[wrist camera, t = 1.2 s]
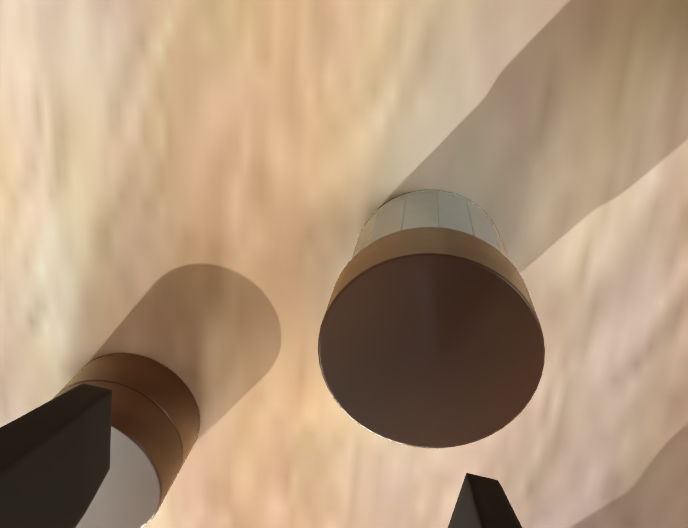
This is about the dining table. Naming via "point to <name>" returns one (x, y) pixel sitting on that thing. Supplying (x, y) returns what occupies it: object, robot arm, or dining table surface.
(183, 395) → the base chip
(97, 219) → the dining table surface
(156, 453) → the middle chip
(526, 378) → the top chip
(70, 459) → the robot arm
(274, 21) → the dining table surface
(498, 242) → the cup
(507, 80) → the dining table surface
